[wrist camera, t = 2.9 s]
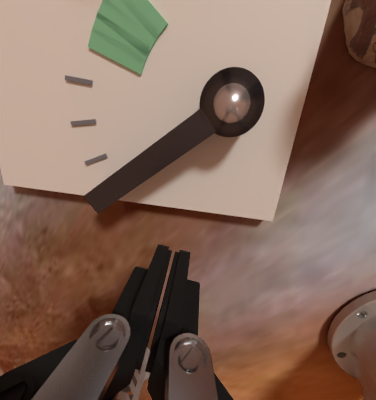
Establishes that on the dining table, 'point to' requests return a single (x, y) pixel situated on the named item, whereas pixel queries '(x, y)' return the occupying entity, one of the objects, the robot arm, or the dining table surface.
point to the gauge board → (151, 94)
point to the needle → (190, 132)
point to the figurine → (361, 30)
